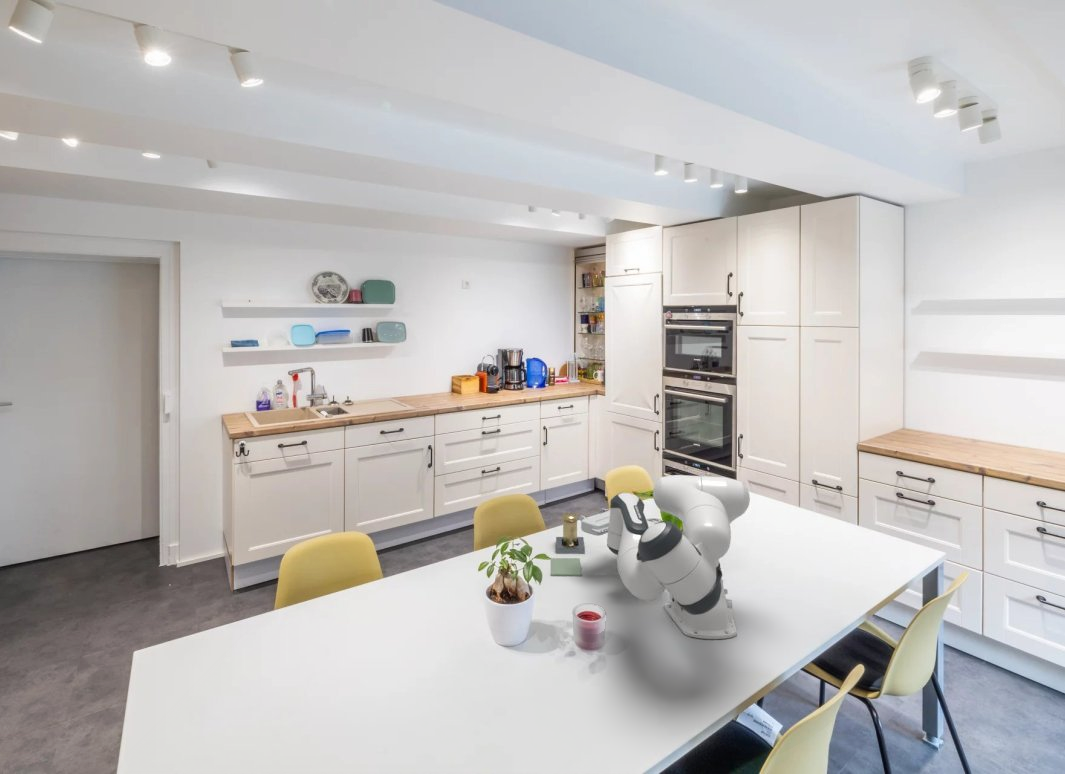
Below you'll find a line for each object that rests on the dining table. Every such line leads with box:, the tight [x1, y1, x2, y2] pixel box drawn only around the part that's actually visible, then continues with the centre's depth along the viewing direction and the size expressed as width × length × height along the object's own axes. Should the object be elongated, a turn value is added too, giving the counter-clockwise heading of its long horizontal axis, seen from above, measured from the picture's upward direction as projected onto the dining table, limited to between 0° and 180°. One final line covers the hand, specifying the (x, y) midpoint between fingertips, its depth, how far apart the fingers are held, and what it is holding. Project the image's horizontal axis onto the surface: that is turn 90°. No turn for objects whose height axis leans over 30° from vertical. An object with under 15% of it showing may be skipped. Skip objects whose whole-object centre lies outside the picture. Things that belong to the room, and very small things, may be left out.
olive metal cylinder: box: [561, 511, 579, 546], centre depth 197 cm, size 6×6×12 cm
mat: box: [550, 557, 583, 577], centre depth 183 cm, size 12×10×1 cm
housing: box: [555, 536, 586, 555], centre depth 197 cm, size 10×10×2 cm
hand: (590, 514), depth 186 cm, fingers open, 8 cm apart
